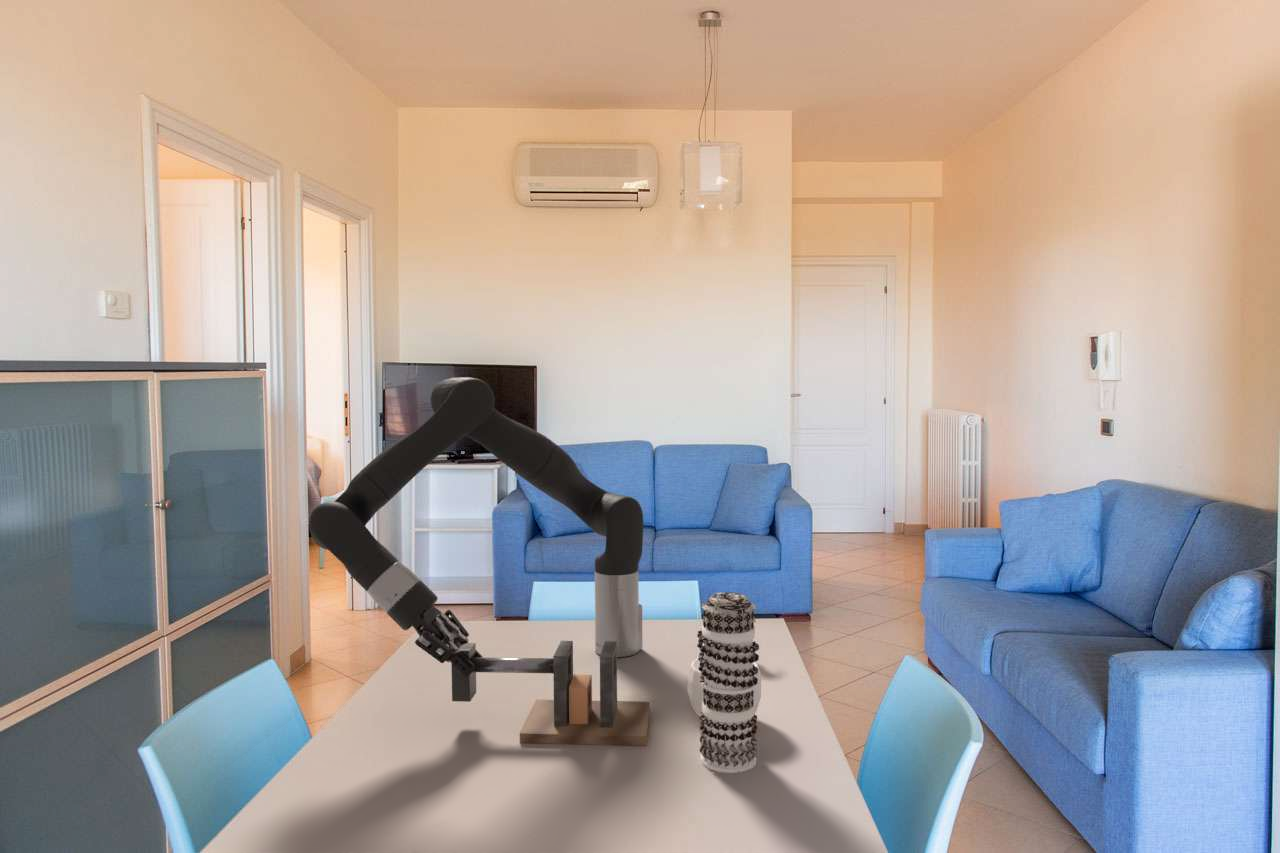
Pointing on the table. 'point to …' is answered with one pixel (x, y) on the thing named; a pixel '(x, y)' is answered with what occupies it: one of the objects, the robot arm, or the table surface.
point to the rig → (607, 716)
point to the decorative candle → (728, 683)
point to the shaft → (491, 670)
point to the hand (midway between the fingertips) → (475, 667)
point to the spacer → (580, 699)
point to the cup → (697, 690)
